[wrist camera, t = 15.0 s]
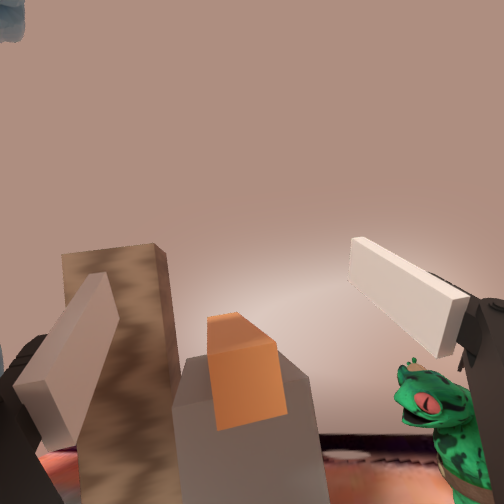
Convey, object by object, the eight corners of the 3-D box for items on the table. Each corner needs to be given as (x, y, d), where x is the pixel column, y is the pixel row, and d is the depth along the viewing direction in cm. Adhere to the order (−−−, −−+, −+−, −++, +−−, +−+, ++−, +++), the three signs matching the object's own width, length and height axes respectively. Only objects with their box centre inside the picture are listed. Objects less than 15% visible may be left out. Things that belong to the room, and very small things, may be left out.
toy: (386, 471, 32) (360, 338, 33) (448, 470, 31) (418, 332, 32) (664, 1214, 7) (507, 535, 8) (1077, 1380, 5) (797, 542, 7)
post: (85, 547, 28) (61, 254, 31) (116, 480, 38) (96, 262, 41) (186, 517, 30) (153, 243, 33) (191, 461, 39) (166, 253, 43)
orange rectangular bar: (217, 431, 15) (207, 355, 15) (211, 347, 37) (207, 317, 37) (287, 413, 16) (276, 342, 16) (241, 341, 37) (237, 312, 38)
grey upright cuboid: (202, 676, 17) (171, 408, 19) (205, 505, 31) (186, 358, 33) (349, 618, 19) (308, 377, 21) (290, 480, 33) (268, 342, 34)
